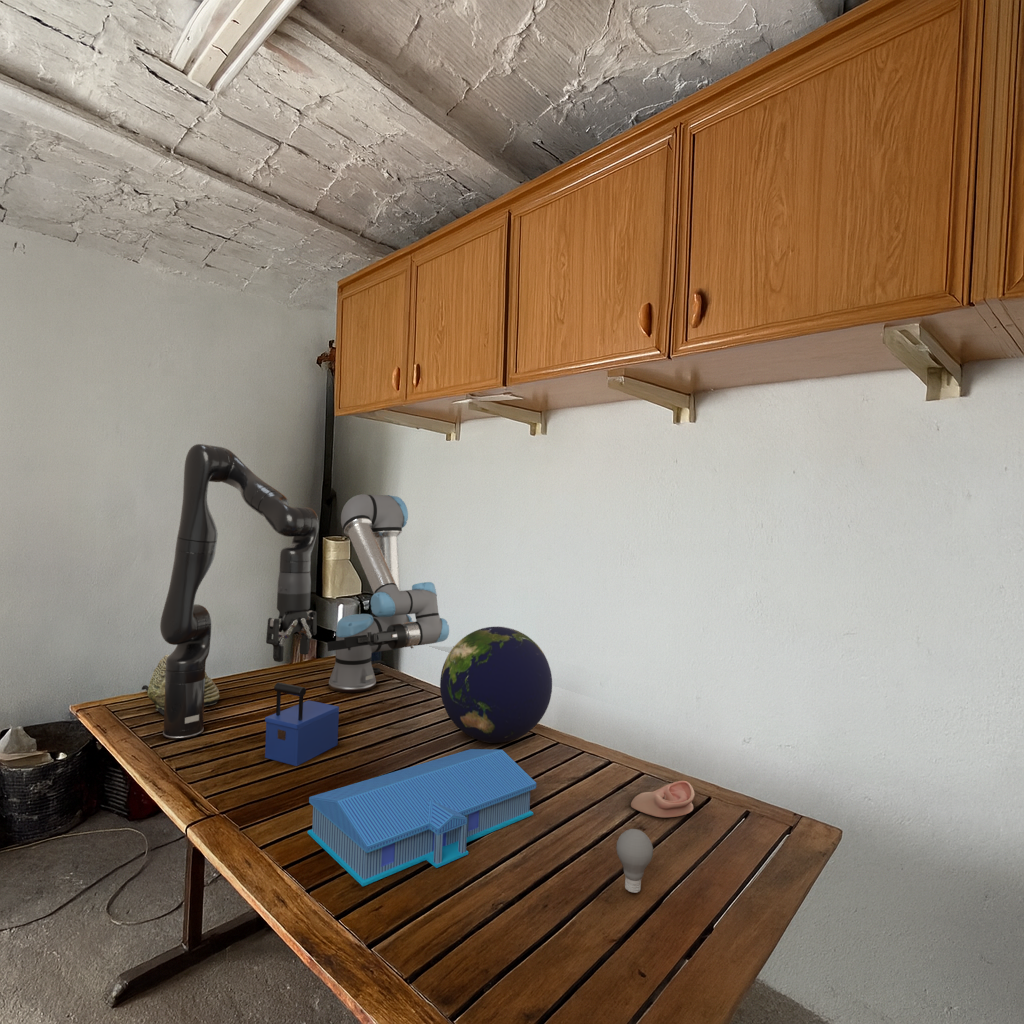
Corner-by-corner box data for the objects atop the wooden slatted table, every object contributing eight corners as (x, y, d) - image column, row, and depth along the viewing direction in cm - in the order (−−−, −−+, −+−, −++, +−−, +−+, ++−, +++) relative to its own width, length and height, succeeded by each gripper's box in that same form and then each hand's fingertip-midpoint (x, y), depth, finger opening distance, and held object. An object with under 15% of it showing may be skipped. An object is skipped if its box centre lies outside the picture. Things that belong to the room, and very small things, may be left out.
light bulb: (610, 879, 108) (613, 822, 108) (644, 879, 109) (647, 822, 109) (619, 902, 102) (622, 840, 102) (655, 901, 103) (658, 840, 103)
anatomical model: (631, 794, 132) (632, 772, 143) (630, 813, 132) (631, 789, 143) (697, 803, 129) (693, 779, 140) (696, 822, 129) (692, 797, 141)
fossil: (144, 707, 182) (145, 655, 182) (212, 696, 194) (213, 647, 194) (151, 716, 175) (153, 662, 175) (221, 703, 188) (223, 653, 188)
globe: (416, 747, 162) (421, 630, 161) (468, 713, 189) (472, 613, 189) (525, 771, 150) (531, 645, 150) (563, 731, 178) (568, 624, 177)
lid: (296, 729, 148) (298, 691, 147) (264, 721, 152) (266, 684, 151) (339, 710, 161) (340, 675, 161) (308, 704, 165) (309, 670, 165)
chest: (296, 766, 148) (298, 728, 148) (264, 757, 152) (266, 721, 152) (337, 745, 162) (339, 710, 161) (307, 737, 166) (308, 704, 165)
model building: (372, 896, 101) (375, 834, 101) (306, 832, 119) (308, 779, 119) (545, 820, 127) (547, 771, 127) (469, 777, 146) (471, 734, 145)
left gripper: (284, 595, 143) (281, 666, 144) (326, 588, 156) (324, 653, 157) (259, 592, 146) (256, 661, 147) (302, 585, 159) (300, 649, 160)
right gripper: (422, 644, 186) (354, 654, 173) (386, 650, 206) (322, 660, 193) (419, 618, 188) (351, 626, 175) (383, 627, 207) (320, 635, 194)
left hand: (291, 657), depth 152 cm, fingers open, 8 cm apart
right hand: (336, 644), depth 184 cm, fingers open, 13 cm apart
